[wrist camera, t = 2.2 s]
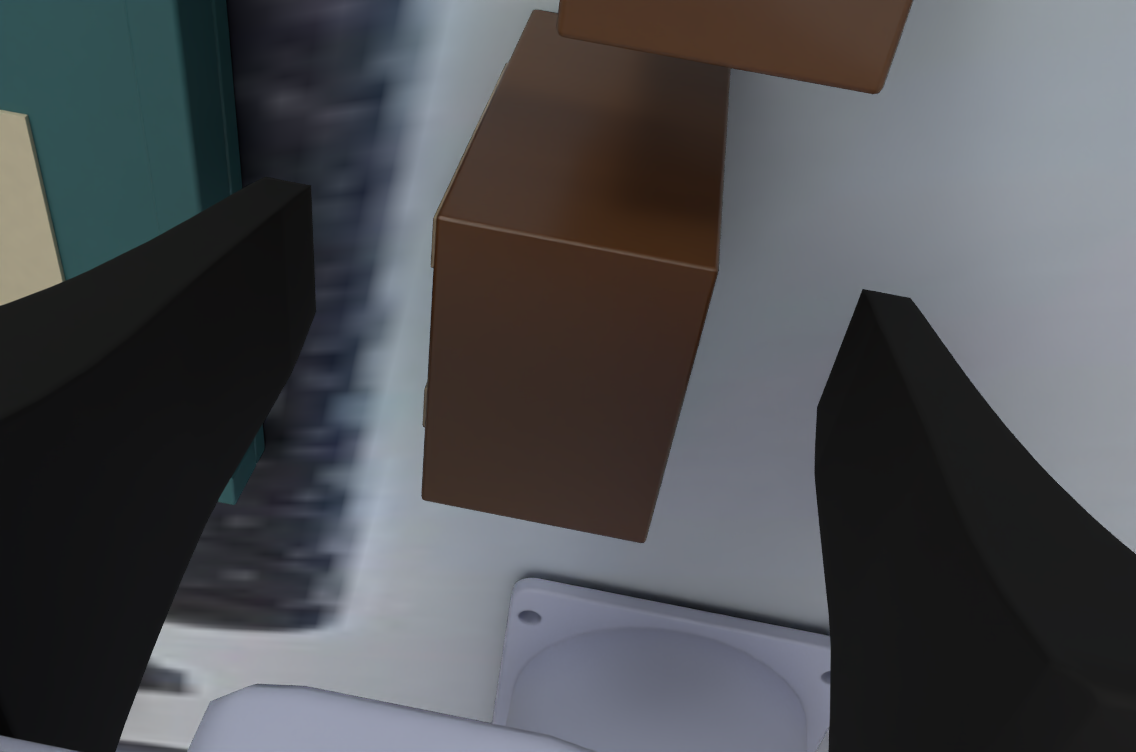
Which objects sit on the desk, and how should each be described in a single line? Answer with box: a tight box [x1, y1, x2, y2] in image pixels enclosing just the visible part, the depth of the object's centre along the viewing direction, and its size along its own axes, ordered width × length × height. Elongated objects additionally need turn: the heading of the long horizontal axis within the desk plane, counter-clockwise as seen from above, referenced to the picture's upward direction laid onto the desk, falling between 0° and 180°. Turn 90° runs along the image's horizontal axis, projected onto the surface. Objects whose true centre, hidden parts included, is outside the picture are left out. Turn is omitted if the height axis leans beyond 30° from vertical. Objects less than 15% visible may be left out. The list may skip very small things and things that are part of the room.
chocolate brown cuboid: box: [421, 10, 731, 543], centre depth 15 cm, size 4×3×6 cm
